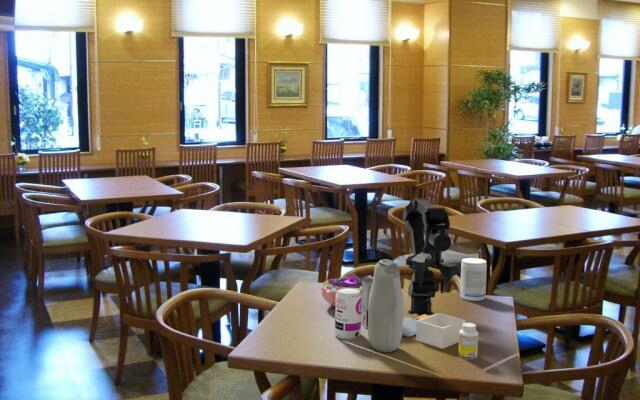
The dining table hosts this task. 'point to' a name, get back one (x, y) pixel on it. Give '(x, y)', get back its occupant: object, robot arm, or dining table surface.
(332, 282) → the cell model
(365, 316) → the coffee box
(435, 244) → the robot arm
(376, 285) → the grey tall bottle
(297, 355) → the dining table surface
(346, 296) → the supplement can
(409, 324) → the lid
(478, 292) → the supplement tub
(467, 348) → the supplement bottle
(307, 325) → the dining table surface
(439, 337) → the tub
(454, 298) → the dining table surface
